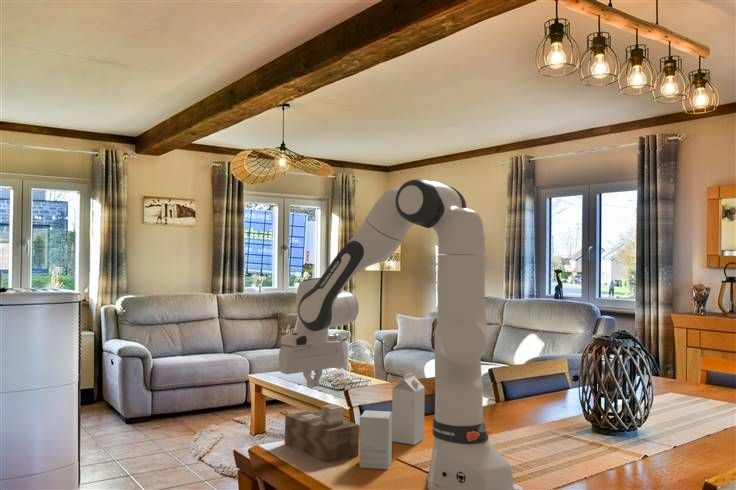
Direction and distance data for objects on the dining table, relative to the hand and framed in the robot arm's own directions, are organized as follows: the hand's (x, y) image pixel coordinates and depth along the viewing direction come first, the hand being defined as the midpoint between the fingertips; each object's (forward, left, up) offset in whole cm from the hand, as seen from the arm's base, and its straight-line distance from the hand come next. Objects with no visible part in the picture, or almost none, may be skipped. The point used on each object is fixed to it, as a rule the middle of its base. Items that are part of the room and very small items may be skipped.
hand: (312, 386), depth 170 cm
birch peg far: (0, 0, -16) cm, 16 cm away
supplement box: (-23, -4, -16) cm, 28 cm away
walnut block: (-5, 0, -16) cm, 17 cm away
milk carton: (-13, -25, -16) cm, 32 cm away
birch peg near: (-10, 0, -12) cm, 15 cm away
